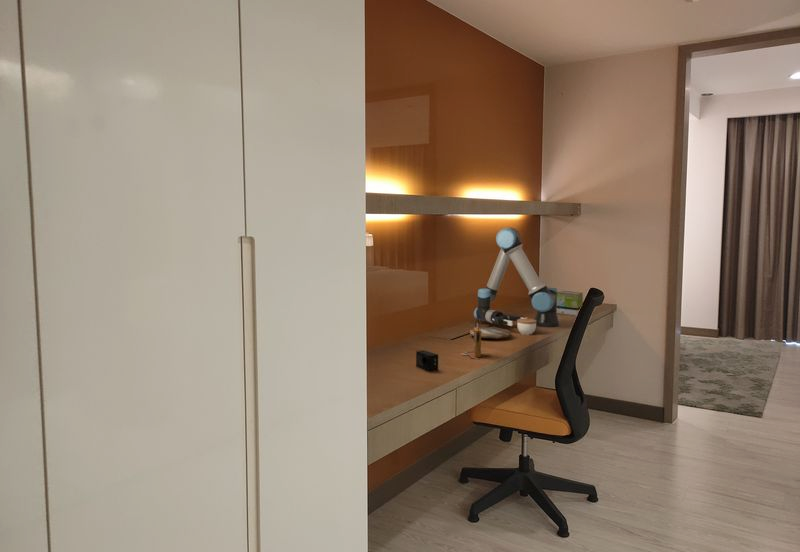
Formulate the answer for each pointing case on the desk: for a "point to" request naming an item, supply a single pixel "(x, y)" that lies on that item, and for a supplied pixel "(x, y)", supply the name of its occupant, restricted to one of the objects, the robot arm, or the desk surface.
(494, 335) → the turntable
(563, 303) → the tea box
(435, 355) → the digital camera
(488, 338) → the turntable pedestal
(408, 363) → the desk surface
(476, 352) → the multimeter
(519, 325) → the lidded jar
